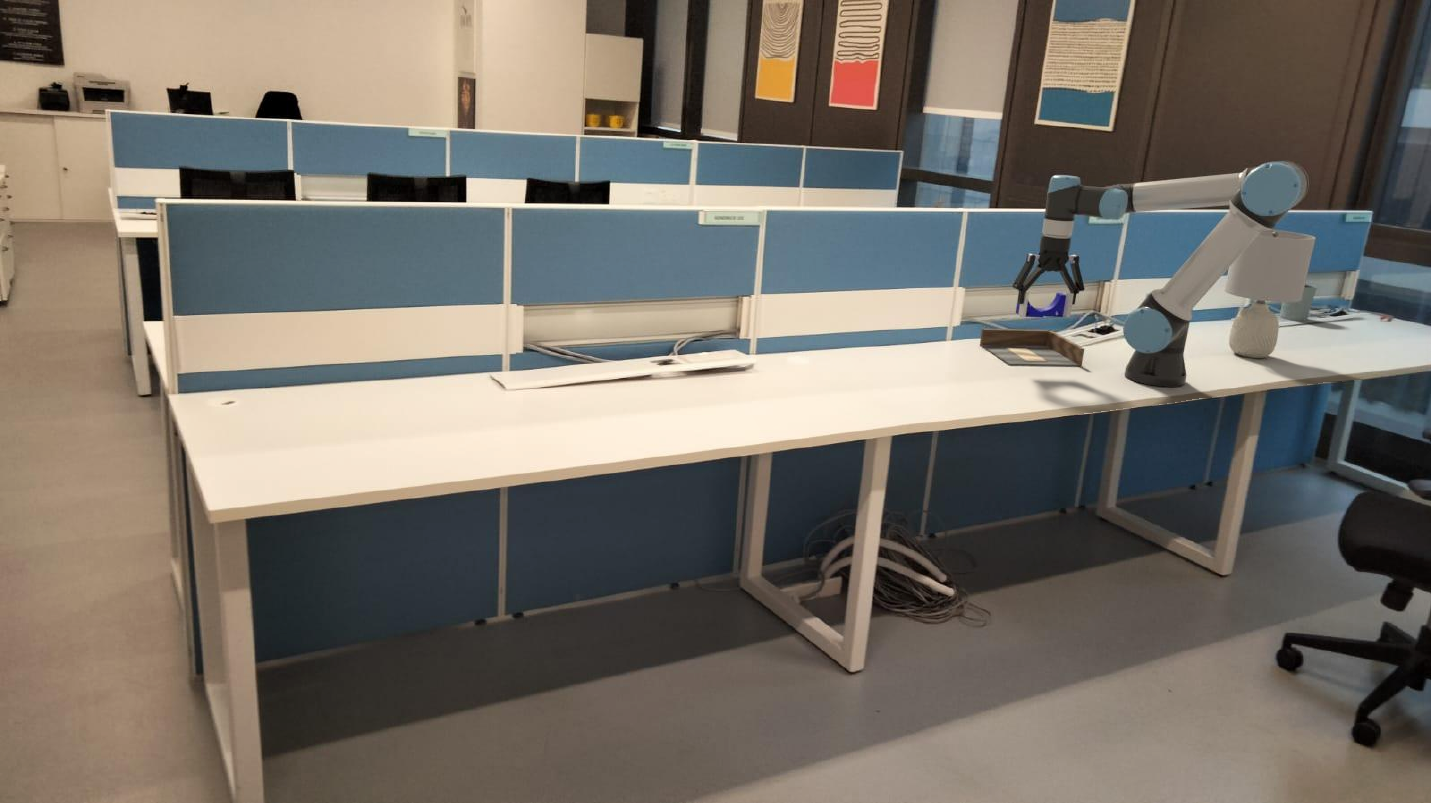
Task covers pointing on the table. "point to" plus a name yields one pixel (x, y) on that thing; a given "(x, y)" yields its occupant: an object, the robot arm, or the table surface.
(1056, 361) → the corner arena
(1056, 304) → the blue u-shaped bracket
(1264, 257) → the lamp
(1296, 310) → the grey tapered pot
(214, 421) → the table surface
